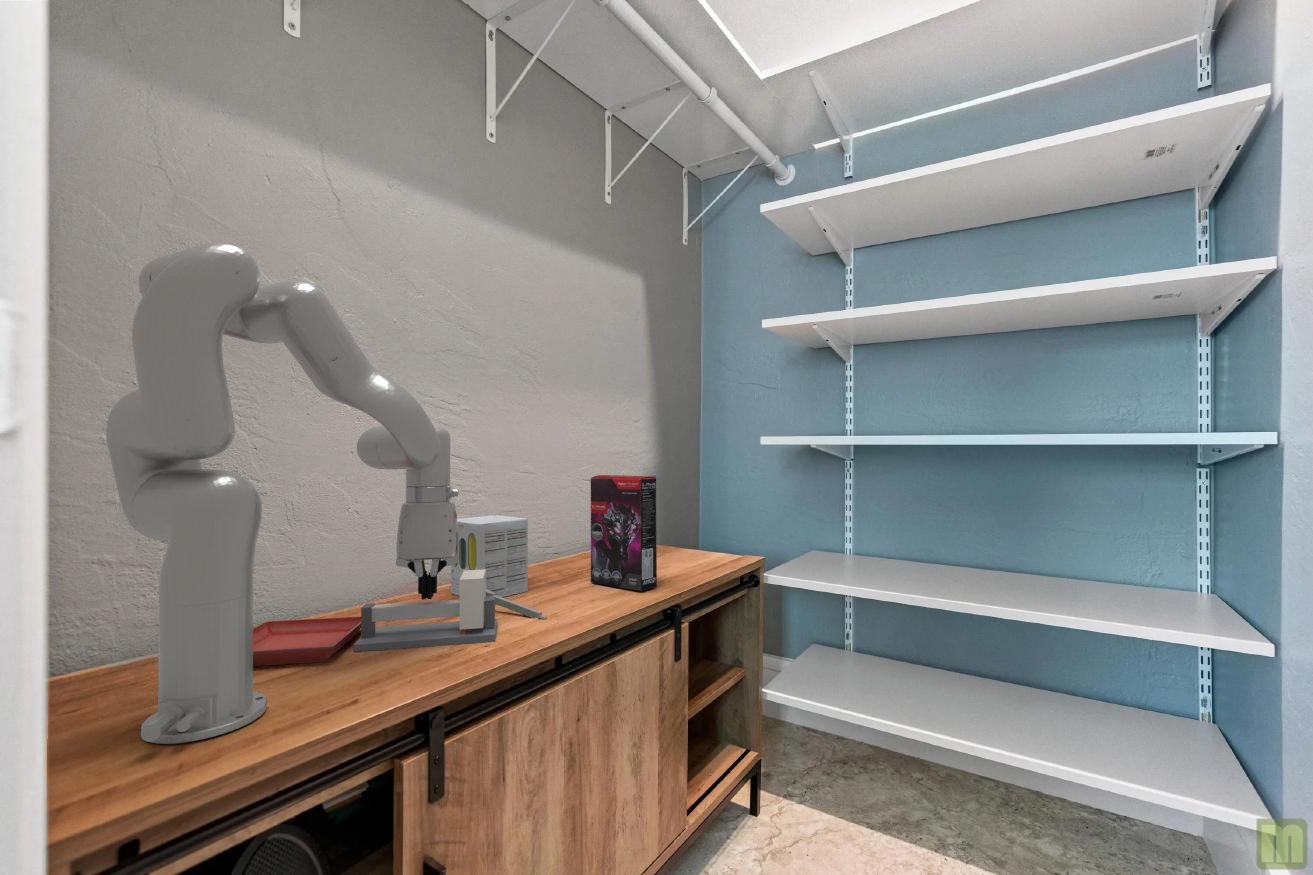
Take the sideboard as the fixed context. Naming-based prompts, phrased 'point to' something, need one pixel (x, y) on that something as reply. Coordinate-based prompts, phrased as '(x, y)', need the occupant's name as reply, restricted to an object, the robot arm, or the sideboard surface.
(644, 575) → the graphics card box
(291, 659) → the plant saucer
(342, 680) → the sideboard surface
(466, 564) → the supplement box
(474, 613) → the white sliding block
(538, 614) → the caliper
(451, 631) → the gray slide rail base
